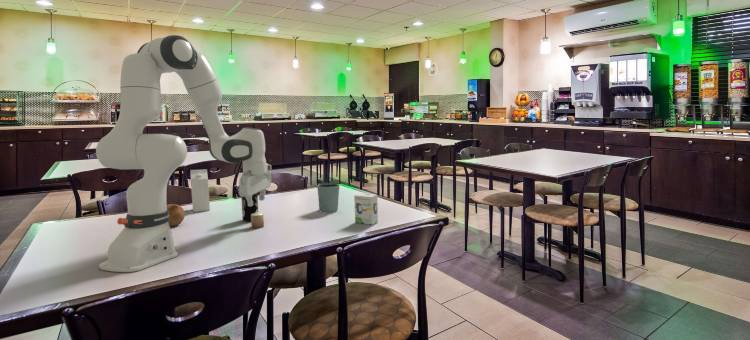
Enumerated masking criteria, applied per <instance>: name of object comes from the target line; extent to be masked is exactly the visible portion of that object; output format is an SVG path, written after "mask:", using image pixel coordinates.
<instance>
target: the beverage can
mask: <svg viewBox="0 0 750 340" xmlns="http://www.w3.org/2000/svg"><path fill="white" fill-rule="evenodd" d="M240 197H241V196H240ZM252 201H254V205H253V206H248V202H247V200H246V197H241V214H242V215H241V217H242V218H241V219H242V220H243V222H246V223H248V222H249V223H251V214H252V213H259V195H258V194H257V193H256V194H253V195H252Z"/></svg>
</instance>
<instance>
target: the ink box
mask: <svg viewBox="0 0 750 340" xmlns="http://www.w3.org/2000/svg"><path fill="white" fill-rule="evenodd" d="M353 198H354V222H358V223H357V224H362V223H364V225H370V224H371V225H372V226H374V225H375V224H377V223H378V222H379V214H378V213H379V210H378V209H379V208H378V206H379V205H378V201H379V200H378V195H377V193H375V194H374V193H365V192H359V193H357V194H355V195H354V196H353Z"/></svg>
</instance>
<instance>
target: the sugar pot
mask: <svg viewBox="0 0 750 340" xmlns="http://www.w3.org/2000/svg"><path fill="white" fill-rule="evenodd" d="M264 219H265V218H264V213H263V212H258V213H252V214H251V222H250V225H251V229H255V230H256V229H262V228H264V226H265V224H264V223H265V221H264Z"/></svg>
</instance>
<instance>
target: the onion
mask: <svg viewBox="0 0 750 340" xmlns="http://www.w3.org/2000/svg"><path fill="white" fill-rule="evenodd" d="M167 209H168V211H169V221H168V223H169V227H176V226H179V225H180V224H182V222H183V221H184V220H185V215H186V213H185V210H184V208H183V207H182V206H181V205H179V204H176V203H170V204H167Z"/></svg>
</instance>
